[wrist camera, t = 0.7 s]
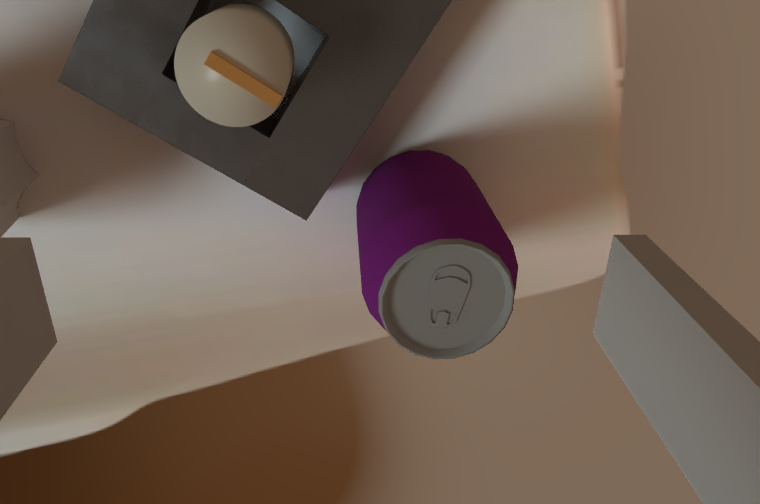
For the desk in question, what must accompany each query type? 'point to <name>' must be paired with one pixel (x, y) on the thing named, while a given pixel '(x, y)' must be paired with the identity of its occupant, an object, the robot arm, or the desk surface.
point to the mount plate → (271, 136)
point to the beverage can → (433, 256)
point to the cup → (11, 176)
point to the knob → (234, 65)
